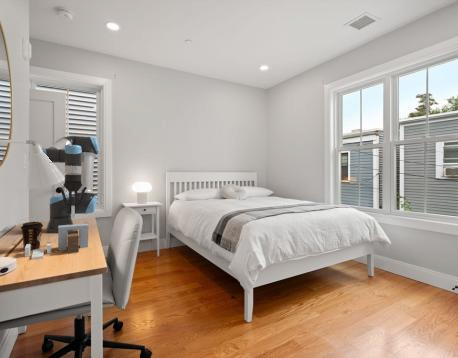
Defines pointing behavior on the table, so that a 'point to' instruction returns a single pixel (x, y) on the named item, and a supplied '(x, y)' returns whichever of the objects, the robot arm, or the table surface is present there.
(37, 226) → the coffee cup
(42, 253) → the cradle
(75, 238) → the walnut bar
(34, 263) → the table surface
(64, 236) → the bore block
